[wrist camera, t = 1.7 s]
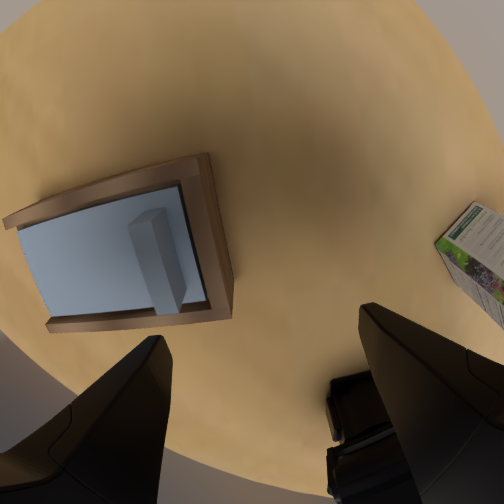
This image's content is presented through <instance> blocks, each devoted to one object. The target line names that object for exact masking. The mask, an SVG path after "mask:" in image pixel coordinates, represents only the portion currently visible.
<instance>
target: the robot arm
mask: <svg viewBox="0 0 504 504" xmlns="http://www.w3.org/2000/svg"><path fill="white" fill-rule="evenodd" d="M358 330H359V335H360V339H361V342H362V345H363V348H364V351H365V354H366V357H367V361H368V364H369V367H370V370H371V371H370V372H366V373H362V374H358V375H354V376H350V377H345V378H341V379H336V380H333V381H331V382H330V393H329V397H327V399H326V415H327V419H328V423H329V427H330V431H331V435H332V439H333V441H335V442H337V441H339V443H340V445H338V446H336V447H331V448H328V449H327V456H326V460H327V476H328V487H327V492H328V494H330V495H332V496H333V497H334V499H335V501H336V502H337V504H504V365H501V364H499V363H497V362H494V361H492V360H490V359H488V358H486V357H483V356H481V355H479V354H477V353H475V352H473V351H471V350H469V349H467V350H466V348H465V347H463V346H461V345H459V344H457V343H455V342H453V341H451V340H449V339H447V338H445V337H443V336H441V335H439V334H437V333H435V332H433V331H431V330H429V329H427V328H425V327H423V326H421V325H419V324H417V323H415V322H413V321H411V320H409V319H407V318H405V317H403V316H401V315H399V314H397V313H395V312H393V311H391V310H389V309H387V308H385V307H383V306H381V305H379V304H377V303H374V302H371V303H367V304H362V305H361V306H360V308H359V325H358ZM172 368H173V359H172V355H171V353H170V350H169V348H168V346H167V343H166V341H165V339H164V337H163V336H162V335H152V336H148V337H147V338H146V339H145V340H143V341H142V342H141V343H140V344H139V345H138V346H136V347H135V348H134V349H133V350H132V351H131V352H129V353H128V354H127V355H126V356H125V357H124V358H122V359H121V360H120V361H119V362H118V363H117V364H115V365H114V366H113V367H112V368H111V369H109V370H108V371H107V372H106V373H105V374H104V375H102V376H101V377H100V378H99V379H98V380H97V381H95V382H94V383H93V384H92V385H91V386H90V387H88V388H87V389H86V390H85V391H84V392H83V393H81V394H80V395H79V396H78V397H77V398H76V399H74V401H72V402H71V404H69V405H67V406H66V407H65V408H64V409H63V410H62V411H61V412H59V413H58V414H57V415H56V416H54V417H53V418H52V419H51V420H49V421H48V422H47V423H45V424H44V425H43V426H42V427H40V428H39V429H37V430H36V431H35V432H33V433H32V434H30V435H29V436H28V437H26V438H25V439H23V440H22V441H21V442H19V443H18V444H16V445H15V446H14V447H12V448H11V449H9V450H7V451H5V452H3V453H0V504H157V497H158V488H159V480H160V472H161V464H162V457H163V449H164V444H165V437H166V430H167V424H168V418H169V412H170V403H171V385H172Z"/></svg>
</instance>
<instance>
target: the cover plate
mask: <svg viewBox="0 0 504 504" xmlns="http://www.w3.org/2000/svg"><path fill="white" fill-rule="evenodd" d="M17 235H18V238H19V241H20V244H21V247H22V249H23V252H24V255H25V258H26V260H27V263H28V265H29V268H30V271H31V273H32V275H33V278H34V280H35V283H36V285H37V287H38V290H39V292H40V294H41V296H42V298H43V301H44V303H45V305H46V307H47V309H48V311H49V313H50V315H51V317H53V316H66V315H79V314H90V313H101V312H112V311H122V310H131V309H141V308H150V307H154V309H155V311H156V314H157V316H158V315H167V314H176V313H179V312H180V309H181V305H182V304H183V303H191V302H198V301H206V298H207V290H206V287H205V283H204V279H203V275H202V271H201V267H200V264H199V260H198V256H197V252H196V248H195V244H194V239H193V235H192V231H191V227H190V223H189V218H188V214H187V210H186V205H185V201H184V196H183V192H182V187H181V184H178V185H173V186H169V187H164V188H160V189H155V190H151V191H147V192H143V193H139V194H135V195H131V196H127V197H123V198H119V199H115V200H111V201H108V202H104V203H100V204H97V205H93V206H90V207H86V208H83V209H79V210H76V211H73V212H69V213H66V214H63V215H60V216H57V217H53V218H50V219H47V220H44V221H41V222H38V223H35V224H32V225H29V226H27V227H24V228H22V229H20V230H18V231H17Z"/></svg>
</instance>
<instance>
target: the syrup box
mask: <svg viewBox="0 0 504 504" xmlns="http://www.w3.org/2000/svg"><path fill="white" fill-rule="evenodd" d="M435 246H436V247H437V249H438V251H439V253H440V254H441V256H442V258H443V260H444V262H445V264H446V266H447V267H448V270H449V271H450V273H451V275H452V277H453V279H454V282H455V283H456V285H457V286H458V287H460V288H461V289H462V290H463V291H464V292H465V293H466V294H467V295H468V296H469V297H471V298H472V299H473V300H474V301H475V302H476V303H477V304H478V305H479V306H480V307H481V308H482V309H483V310H484V311H485V312H486V313H487V314H488V315H489V316H490V317H491V318H492V319H493V320H494V321H495V322H496V323H497V324H498V325H499V326H500V327H501V328H502V329H503V330H504V216H503V215H501V214H499V213H497V212H495V211H493V210H491V209H489V208H487V207H485V206H483V205H481V204H479V203H477V202H473V203H472V204H471V205H470V208H469V209H468V210H467V211H466V212H465V213H464V214H463V215H462V216H461V217H460V218H459V219H458V220H457V222H456V223H455V224H454V225H453V226H452V227H451V228H450V229H449V230H448V231H447V232H446V233H445V234H444V235H443V237H442V238H441V239H440V240H439V241H437V243H436V244H435Z"/></svg>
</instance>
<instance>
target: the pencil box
mask: <svg viewBox="0 0 504 504" xmlns="http://www.w3.org/2000/svg"><path fill="white" fill-rule="evenodd" d="M178 184H181V187H182V192H183V196H184V201H185V205H186V210H187V214H188V218H189V223H190V227H191V231H192V235H193V239H194V244H195V248H196V252H197V256H198V260H199V264H200V267H201V271H202V275H203V279H204V283H205V287H206V290H207V298H206V301H198V302H191V303H183V304H182V305H181V309H180V312H179V313H176V314H167V315H158V316H157V314H156V311H155V309H154V307H150V308H141V309H131V310H122V311H112V312H101V313H90V314H79V315H66V316H53V317H51V318H50V319H49V320H48V322H47V323H46V324H45V325H46V327H47V329H48V331H49V333H75V332H96V331H113V330H127V329H140V328H152V327H162V326H173V325H182V324H191V323H200V322H208V321H216V320H224V319H232V309H233V291H234V278H233V273H232V269H231V264H230V259H229V254H228V250H227V245H226V240H225V235H224V230H223V225H222V220H221V215H220V210H219V205H218V200H217V195H216V190H215V185H214V180H213V175H212V170H211V164H210V159H209V154H208V153H204V154H199V155H194V156H190V157H185V158H181V159H176V160H172V161H168V162H164V163H159V164H155V165H151V166H148V167H144V168H140V169H136V170H133V171H129V172H125V173H122V174H118V175H115V176H111V177H108V178H105V179H102V180H98V181H95V182H92V183H89V184H86V185H83V186H80V187H77V188H74V189H71V190H68V191H65V192H62V193H60V194H57V195H54V196H51V197H49V198H46V199H43V200H41V201H38V202H36V203H34V204H32V205H30V206H27V207H25V208H23V209H21V210H19V211H17V212H15V213H13V214H11V215H9V216H7V217H5V218H3V219H2V220H3V223H4V226H5V230H7V229H10V228H13V227H15V226H17V230H20V229H22V228H24V227H27V226H29V225H32V224H35V223H38V222H41V221H44V220H47V219H50V218H53V217H57V216H60V215H63V214H66V213H69V212H73V211H76V210H79V209H83V208H86V207H90V206H93V205H97V204H100V203H104V202H108V201H111V200H115V199H119V198H123V197H127V196H131V195H135V194H139V193H143V192H147V191H151V190H155V189H160V188H164V187H169V186H173V185H178Z"/></svg>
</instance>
